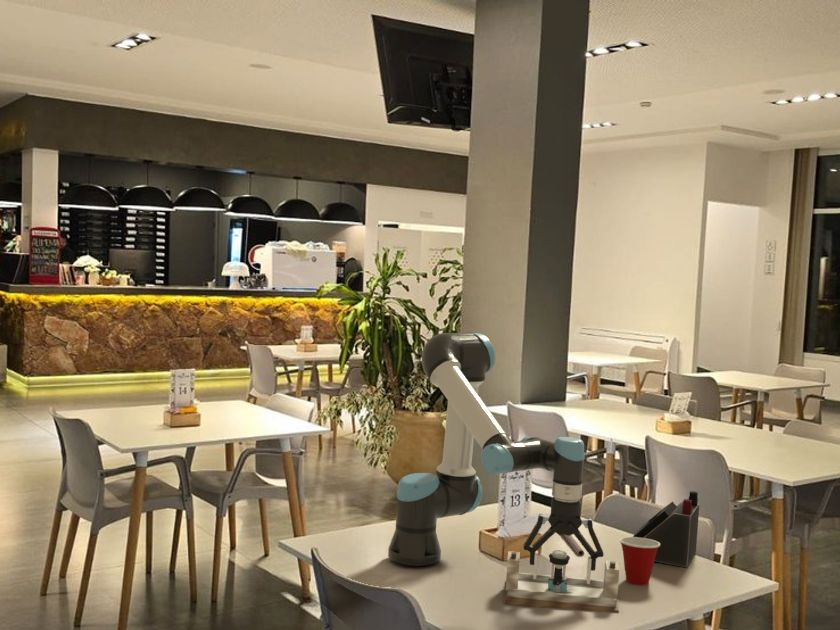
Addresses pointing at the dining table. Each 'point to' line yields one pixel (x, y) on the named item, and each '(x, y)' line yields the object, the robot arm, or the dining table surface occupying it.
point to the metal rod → (574, 544)
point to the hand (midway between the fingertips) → (561, 579)
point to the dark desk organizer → (674, 531)
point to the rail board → (580, 598)
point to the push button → (558, 571)
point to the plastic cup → (638, 558)
